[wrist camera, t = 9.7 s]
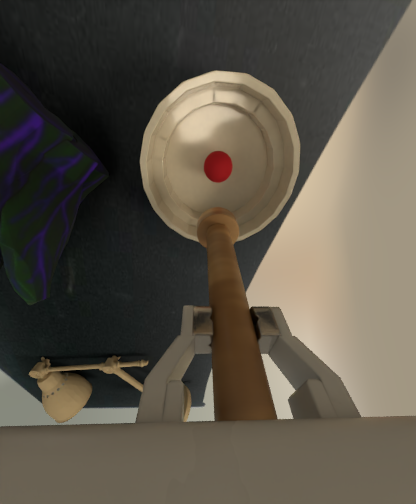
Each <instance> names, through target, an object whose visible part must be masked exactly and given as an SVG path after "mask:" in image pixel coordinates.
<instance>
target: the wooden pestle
mask: <svg viewBox="0 0 416 504" xmlns="http://www.w3.org/2000/svg"><path fill="white" fill-rule="evenodd" d="M238 236H239V226H238V224H237V221H236V218H235V216H234V215H233V213H232V212H231V211H229V210H227V209H225V208H222V207H214V208H210V209H208V210H206V211H205V212H203V213H202V214H201V216H200V217H199V219H198V222H197V238H198V240H199V242H200V243H201V244H202V245H203V246H204V247H205V248H207V259H208V282H209V304H210V306H212V321H213V342H212V343H211V349H212V371H213V393H214V416H215V421H235V420H274V419H277V415H276V411H275V407H274V403H273V400H272V395H271V391H270V387H269V383H268V380H267V376H266V372H265V368H264V364H263V360H262V356H261V352H260V348H259V344H258V340H257V336H256V333H255V329H254V325H253V321H252V317H251V313H250V309H249V305H248V301H247V298H246V293H245V289H244V286H243V282H242V278H241V274H240V270H239V266H238V262H237V258H236V254H235V250H234V246H233V244H234V243H235V242H236V240H237V239H238Z"/></svg>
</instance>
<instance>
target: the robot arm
mask: <svg viewBox="0 0 416 504" xmlns="http://www.w3.org/2000/svg"><path fill="white" fill-rule="evenodd" d="M250 313H251V317H252V321H253V325H254V329H255V333H256V336H257V340H258V344H259V348H260V352H261V354H268V355H269V356H270V357H271V359H272V360H273V361H274V363H275V364H276V365H277V366H278V368H279V369H280V371H281V372H282V373H283V374H284V376H285V377H286V378H287V379H288V381H289V382H290V384H291V385H292V386H293V387H294V388H295V390H296V391H295V392H294V393H293V394H292V395H291V396H290V397H289V399H288V402H289V405H290V408H291V412H292V415H293V418H294V419H274V420H235V421H202V422H201V421H197V422H184V383H183V382H182V381H181V378H182V377H183V375H184V373H185V371H186V369H187V368H188V366H189V364H190V362H191V360H192V359H193V357H194V354H208V353H211V343H212V342H213V321H212V306H184V307H183V316H182V326H181V335H179V336H177V337H176V339H175V340H174V341H173V343H172V344H171V345H170V347H169V348H168V349H167V351H166V352H165V353H164V355H163V356H162V357H161V359H160V360H159V361H158V363H157V364H156V365H155V367H154V368H153V369H152V371H151V372H150V373H149V375H148V376H147V377H146V379H145V382H144V386H143V391H142V395H141V400H140V404H139V409H138V413H137V418H136V422H135V423H121V424H80V425H41V426H4V427H3V426H2V427H0V504H416V416H393V417H392V416H391V417H361V415H360V414H359V412H358V410H357V408H356V406H355V404H354V403H353V401H352V399H351V397H350V395H349V393H348V391H347V389H346V388H345V386H344V384H343V382H342V380H341V378H340V377H339V376H338V375H337V374H336V373H334V372H333V371H332V370H331V369H330V368H329V367H328V366H327V365H326V364H325V363H324V362H323V361H321V360H320V359H319V358H318V357H317V356H316V355H315V354H314V353H313V352H312V351H310V350H309V349H308V348H307V347H306V346H305V345H304V344H303V343H302V342H301V341H300V340H299V339H298V338H297V337H295V336H292V334H291V332H290V330H289V327H288V325H287V323H286V320H285V318H284V316H283V313H282V311H281V309H280V308H279V307H251V308H250Z"/></svg>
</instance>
